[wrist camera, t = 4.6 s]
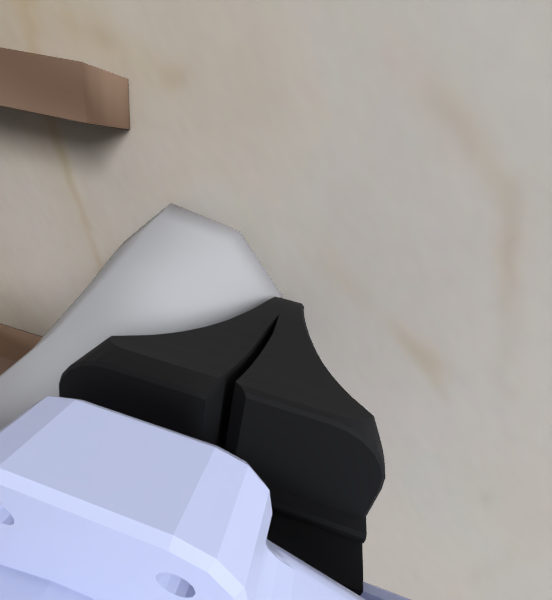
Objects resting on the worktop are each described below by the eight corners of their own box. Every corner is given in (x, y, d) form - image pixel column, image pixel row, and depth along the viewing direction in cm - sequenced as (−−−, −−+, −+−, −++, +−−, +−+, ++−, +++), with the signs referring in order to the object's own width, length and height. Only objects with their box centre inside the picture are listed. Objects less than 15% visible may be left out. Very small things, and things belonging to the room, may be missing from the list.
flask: (100, 296, 14) (-302, 512, 6) (166, 166, 11) (-567, 184, 2) (219, 388, 15) (31, 711, 6) (315, 291, 12) (202, 679, 3)
